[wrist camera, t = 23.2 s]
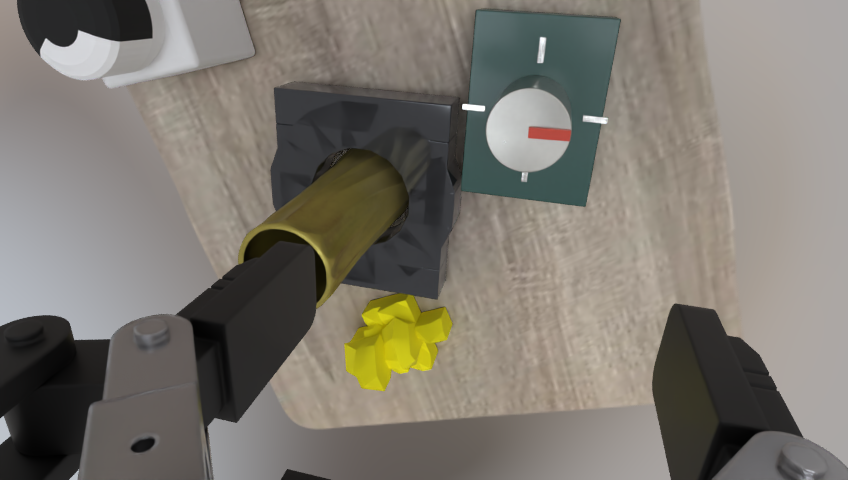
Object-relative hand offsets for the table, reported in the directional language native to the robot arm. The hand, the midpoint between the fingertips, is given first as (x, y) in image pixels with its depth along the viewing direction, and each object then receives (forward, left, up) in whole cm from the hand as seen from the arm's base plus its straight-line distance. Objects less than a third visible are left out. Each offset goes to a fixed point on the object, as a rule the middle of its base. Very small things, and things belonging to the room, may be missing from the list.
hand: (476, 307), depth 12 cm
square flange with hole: (+7, -11, -26) cm, 29 cm away
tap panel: (0, 0, -26) cm, 26 cm away
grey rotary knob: (0, 0, -23) cm, 23 cm away
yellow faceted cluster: (+19, -8, -26) cm, 33 cm away
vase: (+7, -11, -26) cm, 29 cm away
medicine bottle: (-4, -24, -26) cm, 36 cm away
